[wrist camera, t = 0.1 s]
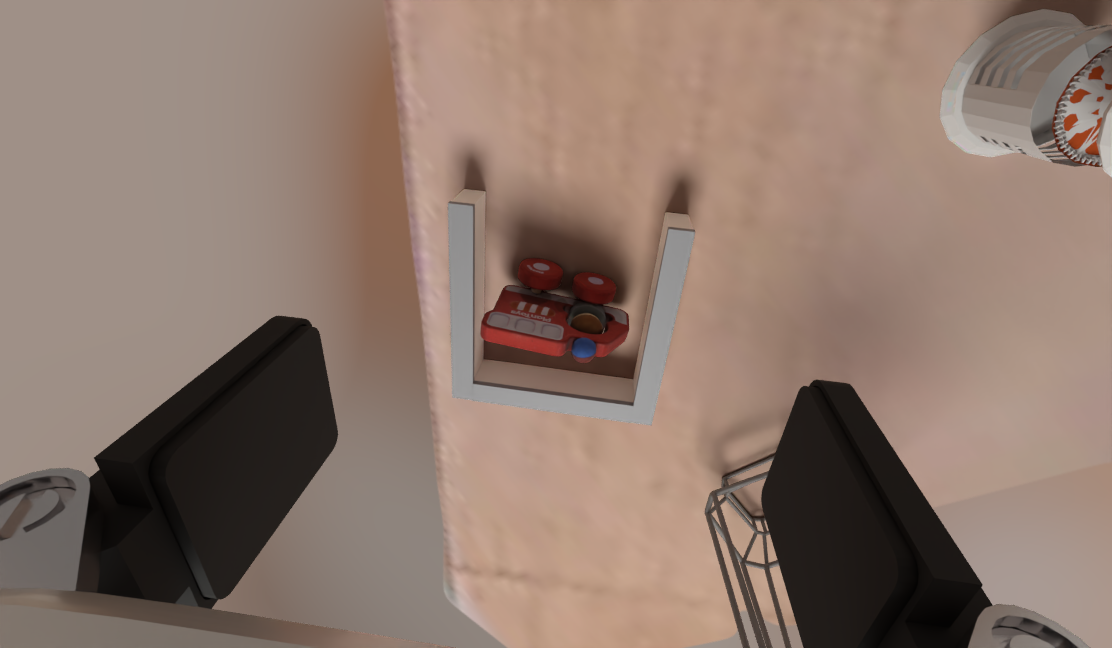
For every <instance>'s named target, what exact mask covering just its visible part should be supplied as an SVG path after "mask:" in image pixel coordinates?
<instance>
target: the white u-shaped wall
mask: <svg viewBox="0 0 1112 648" xmlns="http://www.w3.org/2000/svg"><path fill="white" fill-rule="evenodd" d="M485 210H486V191H478V190H469V189H463V190H462V191H461V192H460V193H459V194H458V195H457V196H456V197H455V198H454V199H452V200H451V201H450V202H449V203H448V230H449V273H450V316H451V359H452V397H453V398H460V399H467V400H472V401H478V402H485V403H492V404H500V405H507V406H514V407H521V408H528V409H535V410H542V411H549V412H556V413H564V414H571V415H578V416H585V417H592V418H599V419H606V420H613V421H620V422H628V423H637V424H645V425H652V421H653V416H654V412H655V408H656V403H657V399H658V394H659V390H660V386H661V381H662V377H663V372H664V368H665V364H666V359H667V355H668V350H669V346H670V342H671V337H672V333H673V328H674V324H675V319H676V315H677V311H678V306H679V302H680V297H681V293H682V289H683V284H684V280H685V275H686V271H687V267H688V262H689V258H690V253H691V249H692V245H693V240H694V236H695V230H694V229H693V226H692V223H691V220H690V218H689V215H687V214H678V213H670V212H665V217H664V222H663V227H662V232H661V238H660V243H659V248H658V253H657V258H656V264H655V269H654V274H653V279H652V284H651V290H650V295H649V300H648V305H647V310H646V316H645V321H644V326H643V331H642V336H641V341H640V347H639V352H638V357H637V362H636V367H635V373H634V378H633V379H628V378H620V377H613V376H606V375H598V374H591V373H583V372H576V371H569V370H561V369H554V368H546V367H539V366H532V365H524V364H517V363H510V362H502V361H495V360H487V359H483V354H484V339H482V338H481V335H480V330H481V321H482V319H483V317H484V282H485Z"/></svg>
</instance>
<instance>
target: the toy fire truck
mask: <svg viewBox="0 0 1112 648" xmlns="http://www.w3.org/2000/svg"><path fill="white" fill-rule="evenodd" d="M562 277H563V271H562V269H561V267H560V266H558V265H557V264H555V263H553V262H551V261H548V260H544V259H538V258H529V259H525V260H523V261H522V262H521V263H520V265H519V270H518V279H519V280H520V281H521V282H522V283H523V284H524V285H525V286H527V287H530V288H525V287H520V286H515V285H507V286H505V287H504V288H503V290H502V292H501V294H500V296H499V299H498V301H497V303H496V305H495V307H494V309H493V310H492V311H489V312H487V313H486V314H485V315H484V317H483V319H482V321H481V330H480V335H481V338H482V339H484V340H485V341H488V342H492V343H497V344H502V345H506V346H511V347H515V348H520V349H524V350H529V351H533V352H538V353H542V354H547V355H551V356H562V355H564V354H565V352H566V351H571V353H572V356H573V358H574V359H575V360H576V361H577V362H580V363H588V362H590V361H591V360H592V359H593V358H594V357H595V356H596V357H605V356H606V355H608V354H609V353H610V352H612V351H613V350H614V349H615V348H617V347H618V346H619V345H621V344H622V343H623V342H624V341H625V339H626V337H627V334H628V331H629V318H628V317H629V316H628V314H627V313H626V312H625V311H623V310H621V309H618V308H613V307H609V306H604V305H603V304H608V303H610V302H612V301H613V299H614V295H615V292H616V285H615V283H614V282H613V281H612V280H611V279H609V278H607V277H605V276H603V275H600V274H596V273H589V272H584V273H579V274H577V275H576V276H575V277H574V280H573V284H572V292H573V293H574V295H575V296H576V297H577V298H578V299H574V298H569V297H565V296H560V295H556V294H551V293H547V292H545V291H543V290H554V289H556V288H558V287H559V286H560V284H561V283H562ZM567 319H568V320H567ZM604 328H605V330H604ZM603 331H604V333H603ZM602 333H603V334H602Z"/></svg>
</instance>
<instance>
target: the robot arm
mask: <svg viewBox="0 0 1112 648" xmlns="http://www.w3.org/2000/svg"><path fill="white" fill-rule="evenodd" d="M337 437H338V430H337V425H336V419H335V414H334V408H333V403H332V398H331V393H330V387H329V381H328V376H327V371H326V366H325V360H324V355H323V349H322V344H321V339H320V334H319V331H318V330H317V328H315V327H312V325H311V323H310V322H309V321H308V320H307V319H302V318H294V317H286V316H275V317H273V318H271V319H270V320H269V321H267V322H266V323H265V324H264V325H262V326H261V327H260V328H258V329H257V330H256V331H255V332H253V333H252V334H251V335H250V336H248V337H247V338H246V339H244V340H243V341H242V342H241V343H239V344H238V345H237V346H236V347H234V348H233V349H232V350H231V351H229V352H228V353H227V354H225V355H224V356H223V357H222V358H220V359H219V360H218V361H216V362H215V363H214V364H213V365H211V366H210V367H209V368H208V369H206V370H205V371H204V372H203V373H201V374H200V375H199V376H197V377H196V378H195V379H194V380H192V381H191V382H190V383H188V384H187V385H186V386H185V387H183V388H182V389H181V390H180V391H178V392H177V393H176V394H175V395H173V396H172V397H171V398H169V399H168V400H167V401H166V402H164V403H163V404H162V405H161V406H159V407H158V408H157V409H155V410H154V411H153V412H152V413H150V414H149V415H148V416H146V417H145V418H144V419H143V420H141V421H140V422H139V423H138V424H136V425H135V426H134V427H133V428H131V429H130V430H129V431H127V432H126V433H125V434H124V435H122V436H121V437H120V438H119V439H117V440H116V441H115V442H113V443H112V444H111V445H110V446H108V447H107V448H106V449H105V450H103V451H102V452H101V453H100V454H98V455H97V456H96V457H94V459H95V461H96V463H97V465H98V467H99V469H100V470H99V471H97V472H96V473H95V474H94V475H93V476H91V477H90V478H89V477H88V476H86V475H85V474H84V473H83V472H82V471H79V470H74V469H70V468H56V469H47V470H42V471H37V472H32V473H29V474H26V475H23V476H20V477H17V478H14V479H11V480H9V481H7V482H5V483H3V484H1V485H0V648H454V647H448V646H442V645H435V644H429V643H423V642H417V641H411V640H404V639H398V638H392V637H386V636H380V635H374V634H367V633H361V632H355V631H348V630H342V629H335V628H329V627H323V626H316V625H310V624H303V623H297V622H291V621H284V620H278V619H272V618H265V617H259V616H252V615H246V614H240V613H233V612H227V611H221V610H214V609H212V607H213V606H214V604H215V603H216V602H217V600H218V599H223V598H225V597H226V596H228V595H229V594H230V593H231V592H232V590H233V589H234V588H235V586H236V585H237V584H238V582H239V581H240V579H241V578H242V577H243V575H244V574H245V572H246V571H247V569H248V568H249V567H250V565H251V564H252V562H253V561H254V560H255V558H256V557H257V555H258V554H259V553H260V551H261V550H262V548H263V547H264V546H265V544H266V543H267V542H268V540H269V539H270V537H271V536H272V535H273V533H274V532H275V530H276V529H277V528H278V526H279V524H280V523H281V522H282V520H283V519H284V518H285V516H286V515H287V513H288V512H289V511H290V509H291V508H292V506H293V505H294V504H295V502H296V501H297V499H298V498H299V497H300V495H301V494H302V492H303V491H304V490H305V488H306V487H307V485H308V484H309V483H310V481H311V480H312V478H313V477H314V476H315V474H316V473H317V471H318V470H319V469H320V467H321V466H322V464H323V463H324V461H325V460H326V459H327V457H328V456H329V454H330V453H331V452H332V450H333V449H334V447H335V444H336V441H337ZM761 501H762V508H763V512H764V515H765V519H766V522H767V525H768V529H769V532H770V535H771V539H772V542H773V546H774V549H775V552H776V556H777V559H778V563H779V566H780V569H781V573H782V576H783V580H784V583H785V586H786V590H787V593H788V597H789V600H790V603H791V607H792V610H793V613H794V617H795V620H796V624H797V627H798V630H799V634H800V637H801V640H802V644H803V647H804V648H1090V647H1089V646H1088V645H1087V644H1086V643H1084V642H1083V641H1082V640H1081V639H1080V638H1079V637H1077V636H1076V635H1074V634H1073V633H1071V632H1070V631H1068V630H1067V629H1065V628H1064V627H1062V626H1061V625H1059V624H1058V623H1056V622H1054V621H1052V620H1050V619H1048V618H1046V617H1044V616H1042V615H1040V614H1038V613H1036V612H1034V611H1031V610H1028V609H1025V608H1021V607H1018V606H1015V605H1002V604H996V605H992V604H991V602H990V600H989V599H988V597H987V596H986V594H985V593H984V591H983V590H982V588H981V587H982V583H981V582H980V580H979V579H978V577H977V576H976V574H975V572H974V571H973V569H972V568H971V566H970V565H969V563H968V562H967V560H966V559H965V557H964V556H963V554H962V553H961V551H960V550H959V548H958V547H957V545H956V544H955V542H954V541H953V539H952V538H951V536H950V534H949V533H948V532H947V530H946V528H945V527H944V525H943V524H942V522H941V521H940V519H939V518H938V516H937V515H936V513H935V512H934V510H933V509H932V507H931V506H930V504H929V503H928V501H927V500H926V498H925V496H924V495H923V493H922V492H921V490H920V489H919V487H918V486H917V484H916V483H915V481H914V480H913V478H912V477H911V475H910V474H909V472H908V471H907V469H906V468H905V466H904V465H903V463H902V462H901V460H900V459H899V457H898V455H897V454H896V452H895V451H894V449H893V448H892V446H891V445H890V443H889V442H888V440H887V439H886V437H885V436H884V434H883V433H882V431H881V430H880V428H879V427H878V425H877V424H876V422H875V421H874V419H873V417H872V416H871V414H870V413H869V411H868V410H867V408H866V407H865V405H864V404H863V402H862V401H861V399H860V398H859V396H858V395H857V393H856V392H855V390H854V389H853V387H852V386H851V385H850V384H847V383H840V382H832V381H823V380H814V381H813V382H812V383H811V384H810V386H809V387H808V386H803V387H801V389H800V390H799V392H798V395H797V397H796V400H795V403H794V405H793V408H792V411H791V413H790V416H789V419H788V421H787V424H786V427H785V430H784V432H783V435H782V438H781V440H780V443H779V446H778V448H777V451H776V454H775V456H774V459H773V462H772V465H771V467H770V470H769V473H768V475H767V478H766V481H765V483H764V486H763V489H762V497H761Z"/></svg>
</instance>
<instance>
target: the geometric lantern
mask: <svg viewBox="0 0 1112 648" xmlns="http://www.w3.org/2000/svg"><path fill="white" fill-rule="evenodd" d="M774 456H775V455H774ZM774 456H772V457H769V458H767V459H765V460H762V461H760V462H758V463H755V464H753V465H751V466H748V467H746V468H744V469H741V470H739V471H737V472H734V473H732V474H730V475H727V476H725V477H723V478H722V488H720V489H717V490H714V491H712V492H711V493H710V495H709V498H708V501H707V504H706V508H705V516H706V519H707V522H708V526H709V529H710V533H711V536H712V540H713V543H714V547H715V550H716V554H717V557H718V561H719V564H720V568H721V572H722V575H723V579H724V582H725V586H726V589H727V593H728V596H729V600H730V603H731V607H732V611H733V614H734V618H735V621H736V625H737V628H738V632H739V635H740V639H741V643H742V646H743V648H750V647H749V643H748V640H747V636H746V633H745V630H744V626H743V623H742V619H741V616H740V613H739V609H738V606H737V602H736V599H735V596H734V592H733V589H732V585H731V582H730V579H729V575H728V572H727V568H726V565H725V561H724V558H723V555H722V551H721V548H720V544H719V541H718V538H717V534H716V531H715V528H716V530H717V531H718V533H719V534H720V535H721V537H722V538H723V539H724V541H725V542H726V544H727V547H728V550H729V553H730V556H731V560H732V563H733V566H734V569H735V572H736V576H737V579H738V582H739V585H740V589H741V592H742V595H743V598H744V601H745V605H746V608H747V611H748V614H749V617H750V621H751V624H752V627H753V630H754V633H755V637H756V640H757V643H758V646H759V648H766V647H767V648H772V645H771V642H770V639H769V636H768V632H767V630H766V626H765V624H764V620H763V617H762V614H761V611H760V608H759V605H758V602H757V599H756V596H755V593H754V590H753V587H752V583H751V580H750V577H749V574H748V571H747V568H746V565H747V566H751V567H755V568H760V569H764V570H765V574H766V577H767V581H768V585H769V589H770V593H771V596H772V600H773V604H774V607H775V611H776V615H777V618H778V622H779V625H780V629H781V632H782V636H783V640H784V644H785V647H786V648H791V644H790V641H789V637H788V634H787V630H786V627H785V623H784V620H783V616H782V613H781V609H780V606H779V602H778V599H777V595H776V592H775V588H774V584H773V581H772V577H771V573H770V569H769V568H772V567H775V566H778V565H779V563H778V560H776V561H773V562H770V563H768V553H767V542H766V535H769V534H770V532H769V531H767V529H766V526H765V523H764V521H765V520H766V519H765V517H764V518H751V516H750V515H749V514H748V513H747V512H746V510H745V509H744V508H743V507H742V506H741V505H740V503H739V502H738V501H737V500H736V499H735V497H734V496H733V495H732V494H731V492H733V491H735V490H737V489H740V488H742V487H744V486H746V485H749V484H751V483H753V482H756V481H759V480H762V479H765V478H767V475H768V473H769V471H767V472H765V473H762V474H759V475H756V476H753V477H751V478H748V479H745V480H742V481H739V482H737V483H734V484H731V485H729V484H728V481H727V479H729V478H731V477H734V476H736V475H738V474H741V473H743V472H745V471H748V470H750V469H752V468H755V467H757V466H759V465H762V464H764V463H766V462H769V461H771V460H773V459H774ZM725 486H726V487H725ZM723 494H724V496H725V497H724V498H723V499H721V500H720V501H719V500H718V497H717V496H719V495H723ZM728 496H730V498H731V499H732V500H733V501H734V502H735V503H736V505H737V506H738V507H739V508H740V509H741V510H742V512H743V513H744V514H745V515H746V516H747V518H748V519H749V520H751V521H752V524H753V525H752V524H751V523H750V522H749V521H748V519H747V518H746V517H745V516H744V515H743V514H742V513H741V512H740V510H739V509H738V508H737V507H736V506H735V505H734V504H733V502H732V501H731V500H730V499H729V498H728ZM725 501H727V502H728V503H729V504H730V505H731V506H732V507H733V508H734V510H735V511H736V512H737V513H738V514H739V515H740V516H741V517H742V519H743V520H744V521H745V522H746V523H747V524H748V525H749V526H750V528H751V529H752V530H753V531H754V534H753V537H752V539H751V541H750V544H749V546H748V548H747V550H746V553H745V555H744V557H743V558H742V557H741V555H740V554H739V552H738V551H737V550H736V548H735V547H734V545H733V544H732V541H731V538H730V535H729V532H728V528H727V525H726V522H725V519H724V516H723V513H722V510H721V507H720V505H721V504H722V503H723V502H725ZM713 502H714V505H715V506H714V507H713V508H712V509H711V506H712V503H713ZM715 510H716V512H717V515H718V518H719V521H720V524H721V527H720V526H719V524H718V523H717V521H716V520H715V518H714V517H713V516H712V514H711V513H713V512H714V511H715ZM755 521H761V524H762V527H763V530H764V532H761V531H758V530H757V526H756V523H755ZM714 527H715V528H714ZM757 534H760V535H763V546H764V558H765V564H760V563H756V562H751V561H747V560H746V559H747V557H748V554H749V552H750V550H751V548H752V545H753V543H754V541H755V539H756V536H757ZM738 560H739V562H740V565H741V568H742V571H743V574H744V578H745V581H746V584H747V587H748V590H749V593H748V590H747V587H746V584H745V581H744V578H743V575H742V572H741V569H740V565H739V562H738ZM749 594H750V596H749ZM750 597H751V599H750ZM751 600H752V603H753V606H754V609H755V612H754V609H753V606H752V603H751ZM755 613H756V615H755ZM756 616H757V618H756ZM757 619H758V621H757ZM758 622H759V624H758ZM759 625H760V628H761V630H760V628H759ZM761 631H762V634H761ZM762 635H763V637H762ZM763 638H764V640H763ZM764 641H765V643H764ZM765 644H766V646H765Z"/></svg>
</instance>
